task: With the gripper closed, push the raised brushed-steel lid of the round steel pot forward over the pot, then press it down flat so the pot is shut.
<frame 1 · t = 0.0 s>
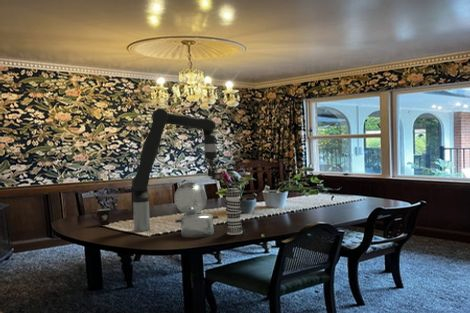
hand: (211, 176, 278), 29 cm above the table, tool pointing down, fingers open, 8 cm apart
coffee mug: (102, 224, 290), on the table
decorative candle: (234, 233, 242), on the table
pot lid: (190, 199, 258), point 18 cm above the table, hinge at 110.0°
cooking pot: (197, 234, 245), on the table
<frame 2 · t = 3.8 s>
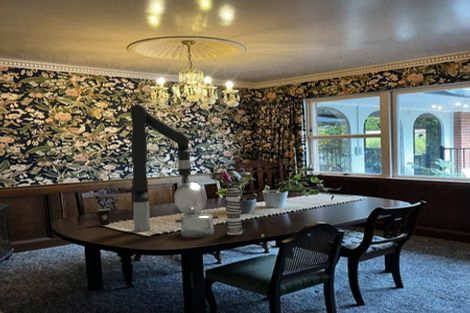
hand: (185, 195, 269), 19 cm above the table, tool pointing down, fingers closed
nothing on the table moved.
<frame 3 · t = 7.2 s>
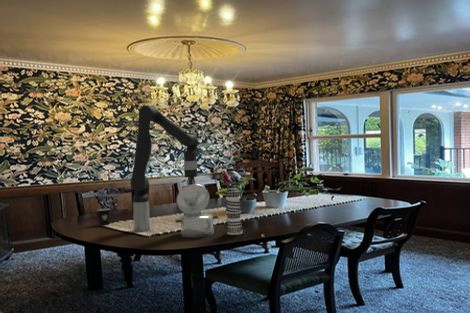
hand: (192, 198, 254), 19 cm above the table, tool pointing down, fingers closed
pot lid: (192, 199, 251), point 19 cm above the table, hinge at 67.5°, touching gripper
everything else where it was.
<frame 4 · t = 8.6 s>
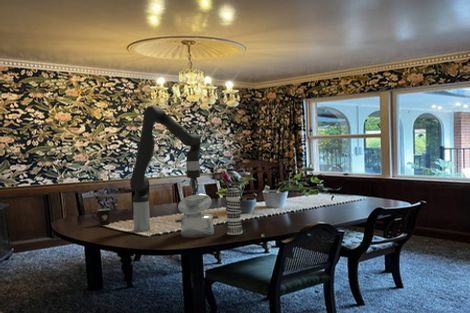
hand: (194, 199, 248), 19 cm above the table, tool pointing down, fingers closed
pot lid: (194, 203, 248), point 17 cm above the table, hinge at 39.2°, touching gripper
everything else where it was.
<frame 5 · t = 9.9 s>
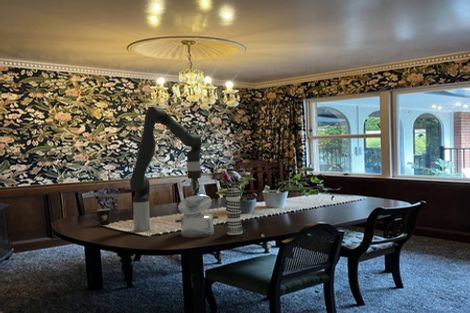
hand: (195, 200, 245), 19 cm above the table, tool pointing down, fingers closed
pot lid: (194, 203, 248), point 17 cm above the table, hinge at 37.6°, touching gripper
everything else where it was.
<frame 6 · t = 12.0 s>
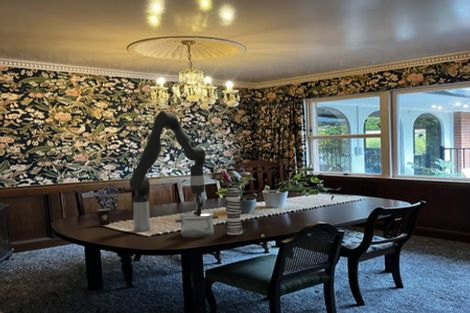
hand: (199, 215, 240), 11 cm above the table, tool pointing down, fingers closed
pot lid: (196, 213, 245), point 11 cm above the table, hinge at 0.0°, touching cooking pot, gripper
everything else where it was.
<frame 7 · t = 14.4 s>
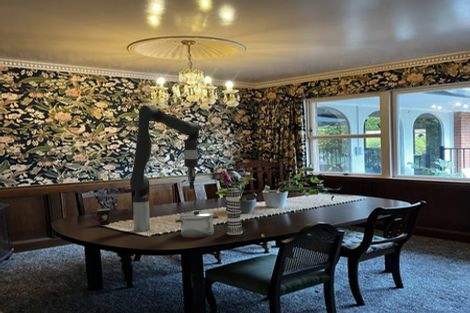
hand: (191, 188, 247), 25 cm above the table, tool pointing down, fingers closed
pot lid: (196, 213, 245), point 11 cm above the table, hinge at 0.0°, touching cooking pot
everything else where it was.
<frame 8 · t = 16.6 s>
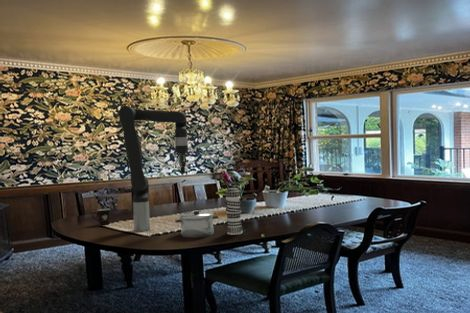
hand: (182, 173, 264), 33 cm above the table, tool pointing down, fingers closed
nothing on the table moved.
at the end: pot lid at +0° (first picture: +110°); decorative candle moved 0.2 cm from its start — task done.
